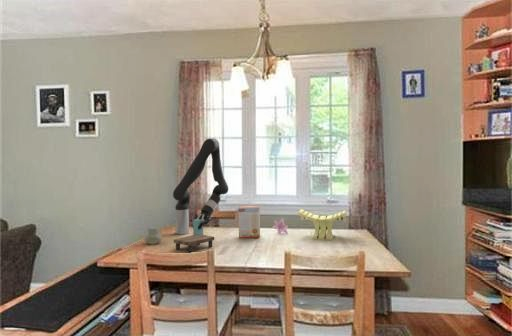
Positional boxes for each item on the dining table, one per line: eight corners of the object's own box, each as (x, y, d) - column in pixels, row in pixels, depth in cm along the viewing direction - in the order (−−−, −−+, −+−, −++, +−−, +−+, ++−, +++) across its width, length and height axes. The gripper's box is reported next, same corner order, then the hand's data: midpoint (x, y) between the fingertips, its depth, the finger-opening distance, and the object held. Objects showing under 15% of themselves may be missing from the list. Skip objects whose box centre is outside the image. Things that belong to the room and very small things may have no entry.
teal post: (193, 238, 265) (193, 219, 264) (198, 236, 268) (198, 218, 268) (198, 238, 262) (197, 220, 261) (203, 237, 265) (202, 219, 265)
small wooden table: (173, 249, 240) (173, 239, 240) (198, 243, 256) (198, 234, 256) (189, 252, 231) (189, 242, 231) (214, 246, 247) (214, 236, 247)
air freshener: (143, 245, 253) (143, 229, 253) (145, 242, 261) (145, 227, 261) (161, 244, 255) (161, 228, 254) (162, 241, 263) (162, 226, 263)
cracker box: (260, 236, 276) (259, 205, 275) (259, 238, 270) (259, 207, 269) (239, 236, 277) (239, 205, 277) (238, 238, 271) (238, 207, 271)
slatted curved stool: (346, 235, 276) (345, 209, 275) (344, 240, 260) (344, 212, 260) (302, 233, 283) (302, 208, 283) (298, 238, 268) (298, 211, 267)
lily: (269, 235, 283) (273, 224, 279) (271, 226, 294) (274, 215, 289) (285, 240, 283) (289, 230, 279) (286, 231, 294) (290, 220, 289)
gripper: (199, 203, 274) (185, 223, 266) (213, 205, 265) (200, 226, 257) (204, 210, 279) (191, 230, 270) (219, 212, 270) (206, 233, 261)
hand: (196, 228), depth 263 cm, fingers closed on teal post, 4 cm apart
